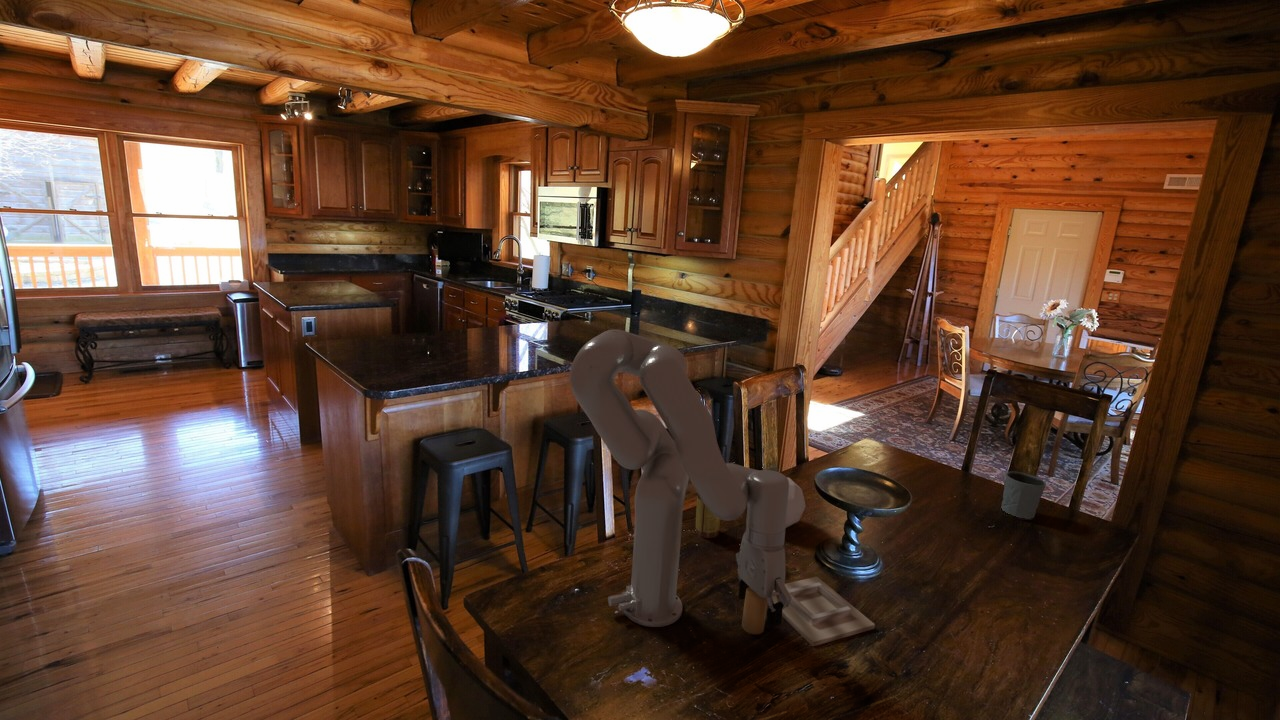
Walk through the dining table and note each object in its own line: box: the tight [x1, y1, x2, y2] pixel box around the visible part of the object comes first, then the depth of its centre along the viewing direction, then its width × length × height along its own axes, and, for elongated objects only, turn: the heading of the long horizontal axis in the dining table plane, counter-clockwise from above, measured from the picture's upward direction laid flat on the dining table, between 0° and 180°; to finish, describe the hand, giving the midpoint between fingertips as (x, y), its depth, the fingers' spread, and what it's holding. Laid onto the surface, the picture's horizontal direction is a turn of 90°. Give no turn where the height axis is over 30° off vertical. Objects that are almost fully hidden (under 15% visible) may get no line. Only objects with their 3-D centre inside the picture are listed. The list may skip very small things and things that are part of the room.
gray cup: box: [1000, 471, 1047, 519], centre depth 178 cm, size 10×10×12 cm
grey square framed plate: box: [772, 576, 876, 647], centre depth 127 cm, size 16×18×3 cm
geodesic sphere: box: [786, 477, 807, 528], centre depth 162 cm, size 15×14×14 cm
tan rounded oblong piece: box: [741, 587, 769, 635], centre depth 119 cm, size 4×4×8 cm
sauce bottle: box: [695, 494, 721, 539], centre depth 154 cm, size 7×6×20 cm
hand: (758, 611), depth 120 cm, fingers open, 9 cm apart
